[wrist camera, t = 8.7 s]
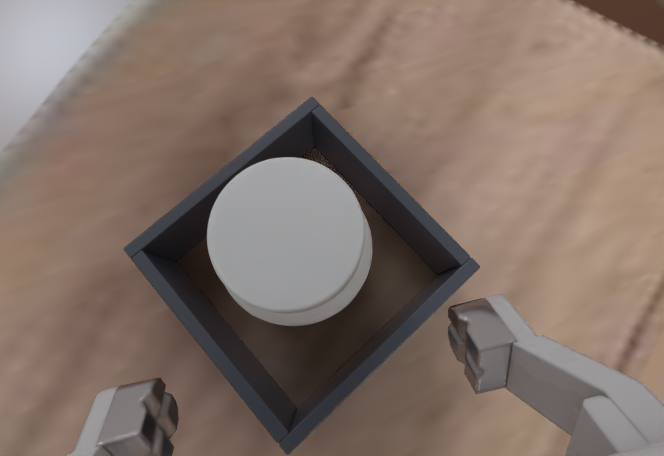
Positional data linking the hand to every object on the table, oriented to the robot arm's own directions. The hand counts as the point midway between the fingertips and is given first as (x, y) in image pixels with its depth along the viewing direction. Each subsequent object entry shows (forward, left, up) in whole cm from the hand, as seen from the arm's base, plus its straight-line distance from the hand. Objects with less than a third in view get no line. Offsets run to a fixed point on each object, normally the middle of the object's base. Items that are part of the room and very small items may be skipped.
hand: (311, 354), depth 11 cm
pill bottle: (+3, -2, -10) cm, 10 cm away
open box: (+3, -2, -9) cm, 10 cm away
